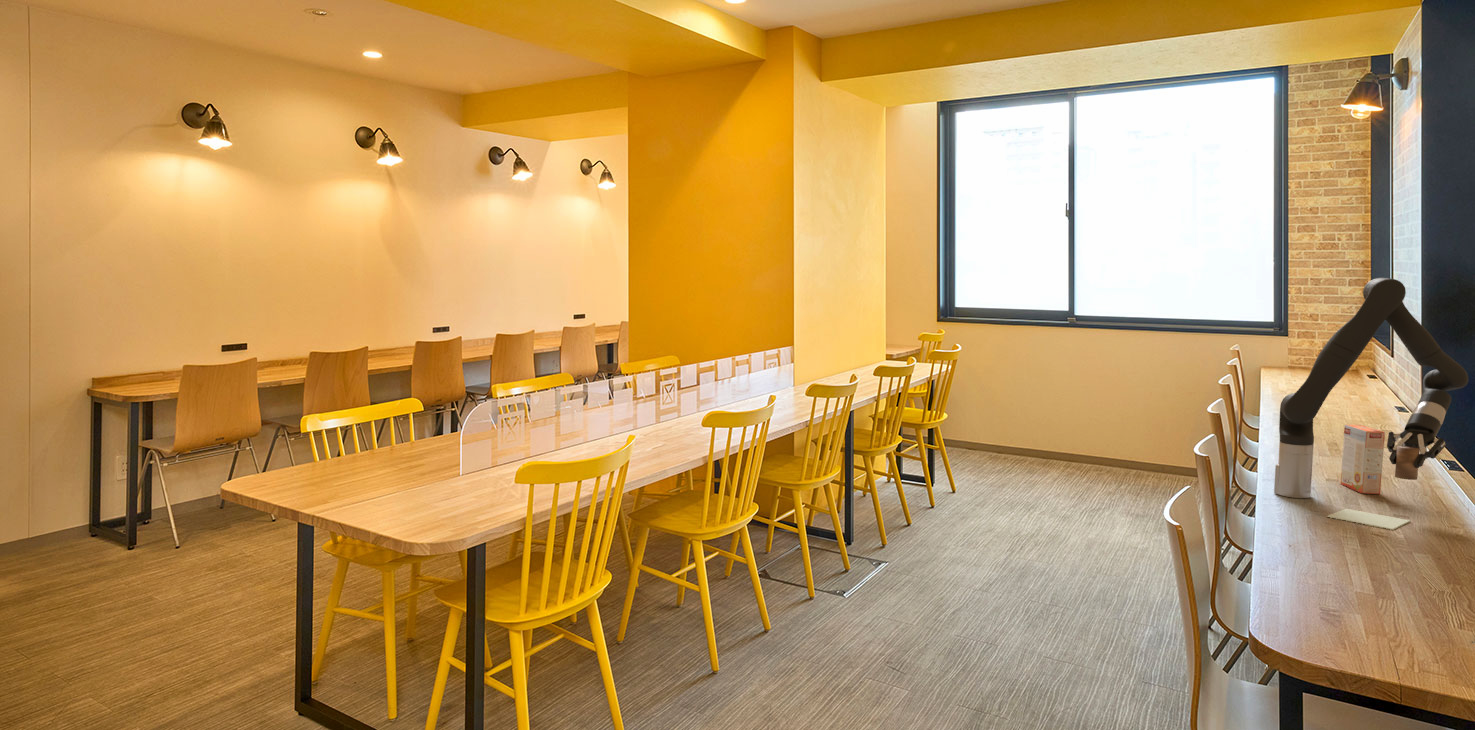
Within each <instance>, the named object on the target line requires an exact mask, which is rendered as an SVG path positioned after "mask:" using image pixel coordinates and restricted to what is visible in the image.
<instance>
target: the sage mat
mask: <svg viewBox="0 0 1475 730" xmlns="http://www.w3.org/2000/svg"><path fill="white" fill-rule="evenodd" d="M1327 517H1330V518H1329V519H1332V518H1336V519H1335V520H1337V519H1341V520H1340V521H1342V520H1346V521H1345V522H1347V521H1353V522H1356V523H1355V524H1358V523H1362V524H1361V525H1363V524H1365V526H1369V527H1373V526H1374V528H1378V527H1379V528H1378V529H1383V528H1386V529H1385V530H1389V529H1390V531H1394V530H1396V529H1398V528H1401V527H1402V526H1404V525H1407V524H1409V523H1410V522H1411V520H1410V519H1405V518H1399V517H1394V516H1388V515H1383V514H1377V513H1373V512H1367V511H1360V510H1357V509H1350V508H1343V509H1342V510H1339V511H1336V512H1334V513H1331V514H1328V515H1327V516H1326V518H1327Z"/></svg>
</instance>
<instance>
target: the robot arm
mask: <svg viewBox="0 0 1475 730" xmlns="http://www.w3.org/2000/svg"><path fill="white" fill-rule="evenodd" d="M1362 295H1363V298H1364V301H1363V303H1362V305H1361V306H1360V307H1359V310H1358V311H1357V312H1356V313H1355V315H1354V316H1352V318H1350V319H1349V320H1348V321H1347V322H1346V323H1345V324H1344V325H1343V326H1341V327H1340V328H1338V329H1337V331H1336V332H1335V333H1333V335H1332V336H1331V337H1330V338H1329V340H1328V341H1327V342H1326V343H1325V345H1324V346H1323V347H1322V349H1321V351H1320V352H1319V354H1318V356H1317V357H1316V359H1315V361H1314V363H1313V366H1312V368H1311V371H1310V373H1309V375H1308V377H1307V378H1306V380H1305V381H1304V382H1303V384H1302V385H1301V386H1300V387H1299V389H1297V390H1296V391H1295V392H1292V393H1290V394H1287V395H1286V396H1285V397H1283V399H1282V400H1281V402H1280V408H1279V423H1278V425H1279V426H1278V427H1279V428H1278V430H1279V431H1278V432H1279V444H1278V445H1279V447H1278V464H1275V470H1274V486H1273V487H1274V489H1273V494H1277V495H1280V496H1282V497H1286V498H1287V497H1288V498H1293V499H1309V498H1310V497H1311V493H1312V476H1313V462H1314V461H1313V460H1314V445H1315V443H1314V441H1315V436H1314V418H1316V416H1317V414H1318V413H1319V411H1320V409H1321V408H1322V406H1323V404H1324V402H1325V401H1326V399H1327V397H1328V396H1329V394H1330V393H1331V391H1332V389H1334V388H1335V386H1337V384H1338V383H1339V382H1340V381H1341V379H1342V378H1343V377H1344V376H1345V374H1347V372H1348V371H1349V370H1350V369H1351V368H1352V367H1353V365H1354V364H1355V363H1356V361H1357V360H1358V358H1359V357H1360V356H1361V354H1362V352H1363V351H1364V350H1365V348H1366V346H1368V344H1369V343H1370V342H1371V340H1372V339H1373V337H1374V336H1375V334H1376V333H1377V331H1378V330H1379V329H1380V327H1381V326H1382V325H1383V323H1384V322H1385V321H1386V323H1387V324H1389V326H1390V327H1391V328H1392V330H1393V331H1394V333H1395V334H1396V335H1397V337H1398V339H1400V341H1401V342H1402V343H1403V345H1404V346H1405V348H1406V349H1407V352H1409V353H1410V355H1411V356H1412V358H1413V359H1414V361H1415V362H1416V363H1417V364H1418V365H1419V366H1420V367H1427V368H1428V367H1430V368H1434V369H1433V370H1430V371H1428V372H1427V373H1426V374H1424V375H1425V376H1424V377H1423V380H1422V391H1421V397H1420V398H1419V401H1418V402H1417V404H1416V406H1415V407H1414V409H1413V410H1412V413H1411V414H1410V417H1409V418H1408V420H1407V422H1406V424H1405V427H1404V429H1403V431H1401V432H1399V433H1395V432H1393V431H1389V432H1388V436H1387V443H1386V447H1387V449H1388V452H1389V453H1390V456H1389V458H1388V459H1389V462H1390V463H1391V465H1396V455H1397V446H1411V447H1417V448H1420V452H1419V454H1418V456H1417V458H1416V460H1415V462H1414V466H1415V468H1418V469H1419V468H1421V467H1423V465H1424V462H1425V461H1426V459H1432V460H1433V459H1436V458H1437V456H1438V455H1439V454H1440V453H1441V451H1442V450H1443V449H1444V448H1445V447H1446V446H1447V445H1446V442H1445V440H1444V438H1436V437H1437V435H1438V433H1439V431H1440V429H1441V427H1442V425H1443V423H1444V420H1445V416H1446V414H1447V412H1448V409H1449V408H1450V405H1451V402H1452V397H1451V395H1450V394H1449V392H1448V391H1455V390H1458V389H1462V388H1464V387H1466V386H1467V385H1468V383H1469V375H1468V372H1467V371H1466V370H1465V368H1464V367H1463V366H1462V365H1461V364H1460V363H1458V362H1457V361H1455V360H1454V359H1453V358H1452V357H1450V356H1449V355H1448V354H1447V353H1445V352H1444V351H1443V349H1442V348H1441V347H1440V345H1439V344H1438V342H1437V341H1436V340H1435V338H1434V337H1433V336H1432V334H1431V333H1430V332H1429V331H1428V330H1427V329H1426V328H1425V327H1424V326H1423V325H1422V324H1421V323H1420V322H1419V321H1418V320H1417V319H1416V318H1415V316H1413V315H1412V313H1411V312H1410V311H1409V310H1408V308H1407V307H1406V305H1405V303H1404V300H1405V297H1406V287H1405V285H1404V283H1403V282H1401V281H1400V280H1398V279H1395V278H1388V277H1377V278H1374V279H1371V280H1369V281H1367V283H1366V284H1365V285H1364V288H1363V289H1362ZM1399 439H1400V440H1399ZM1398 440H1399V441H1398ZM1397 441H1398V442H1397ZM1396 442H1397V444H1396ZM1431 445H1433V446H1431ZM1428 446H1431V448H1429V450H1428V449H1427V448H1428Z"/></svg>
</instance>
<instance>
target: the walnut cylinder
mask: <svg viewBox="0 0 1475 730" xmlns="http://www.w3.org/2000/svg"><path fill="white" fill-rule="evenodd" d="M1418 454H1420V448H1417V447H1411V446H1397V455H1396V464H1395V470H1394V477H1395V478H1397V479H1401V480H1408V481H1409V480H1410V481H1415V480H1418V475H1419V474H1418V473H1419V468H1415V466H1414V462H1415V460H1416V458H1417V456H1418Z"/></svg>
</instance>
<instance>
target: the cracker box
mask: <svg viewBox="0 0 1475 730" xmlns="http://www.w3.org/2000/svg"><path fill="white" fill-rule="evenodd" d="M1343 431H1344V432H1343V445H1342V457H1341V471H1340V472H1341V473H1340V485H1342V486H1344V487H1346V486H1347V488H1349V489H1351V490H1353V491H1355V492H1358V493H1360V494H1365V495H1381V487H1382V475H1383V462H1384V459H1383V458H1384V451H1385V450H1384V448H1385V438H1386V437H1385V436H1386V432H1385V431H1383V430H1380V429H1377V428H1373V427H1369V426H1367V425H1362V424H1344V430H1343Z"/></svg>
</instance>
